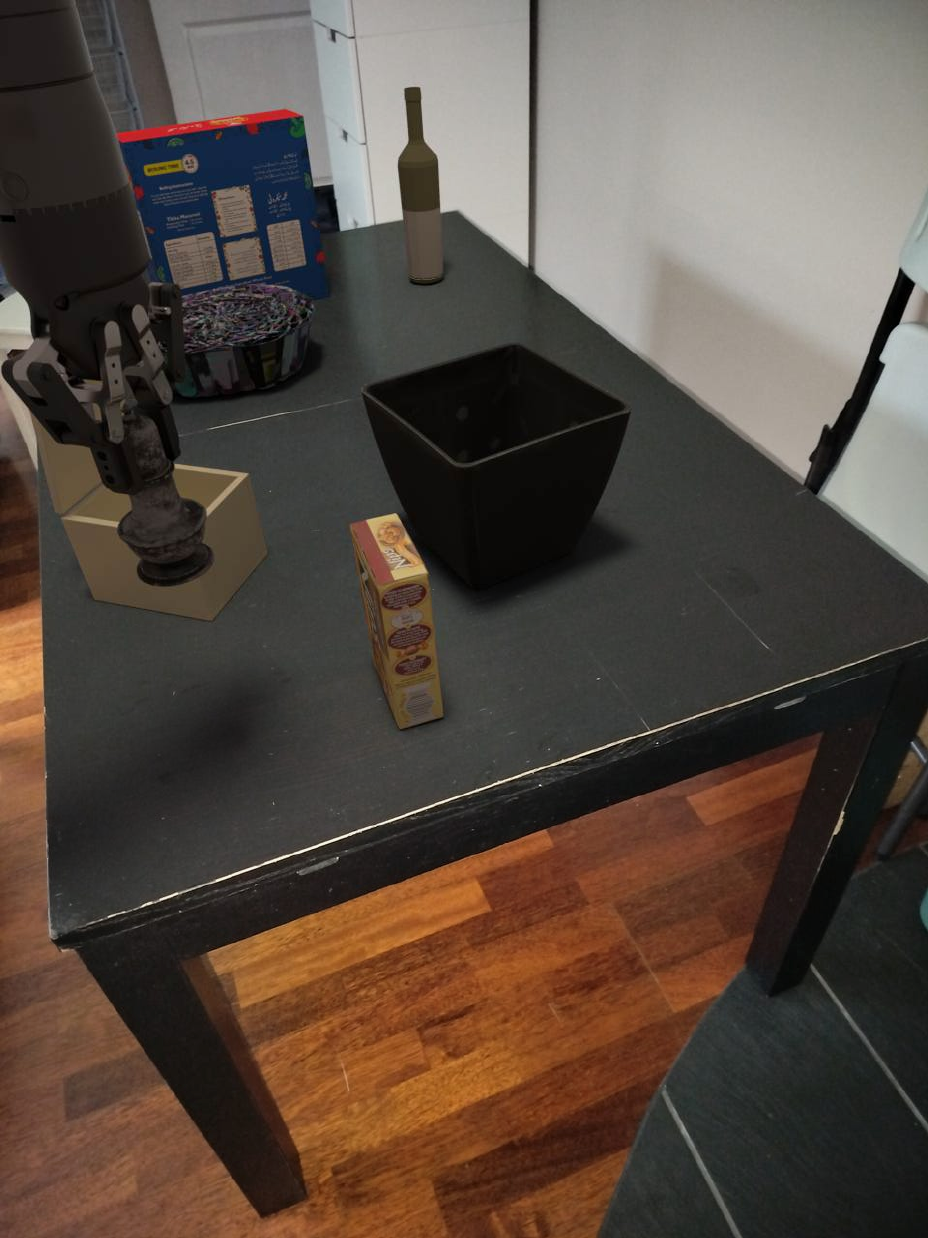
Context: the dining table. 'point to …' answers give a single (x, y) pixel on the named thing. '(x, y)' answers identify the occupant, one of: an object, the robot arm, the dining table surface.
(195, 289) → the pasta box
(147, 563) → the salt shaker
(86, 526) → the tan lidded cardboard box
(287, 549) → the dining table surface
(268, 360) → the decorative bowl
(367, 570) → the candy box
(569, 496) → the flower pot
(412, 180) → the bottle
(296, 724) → the dining table surface
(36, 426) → the lid
